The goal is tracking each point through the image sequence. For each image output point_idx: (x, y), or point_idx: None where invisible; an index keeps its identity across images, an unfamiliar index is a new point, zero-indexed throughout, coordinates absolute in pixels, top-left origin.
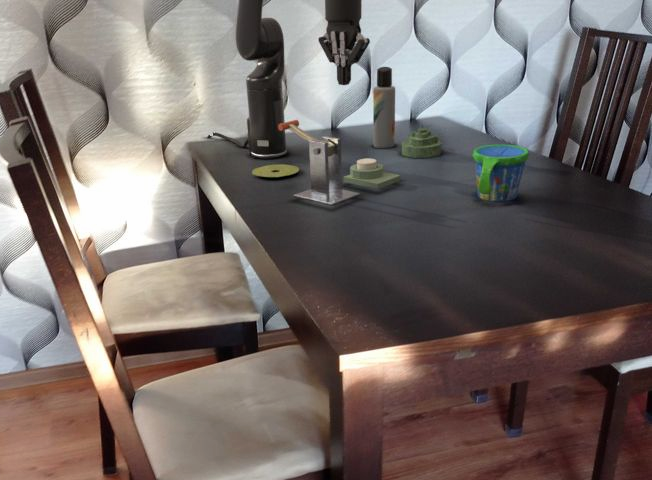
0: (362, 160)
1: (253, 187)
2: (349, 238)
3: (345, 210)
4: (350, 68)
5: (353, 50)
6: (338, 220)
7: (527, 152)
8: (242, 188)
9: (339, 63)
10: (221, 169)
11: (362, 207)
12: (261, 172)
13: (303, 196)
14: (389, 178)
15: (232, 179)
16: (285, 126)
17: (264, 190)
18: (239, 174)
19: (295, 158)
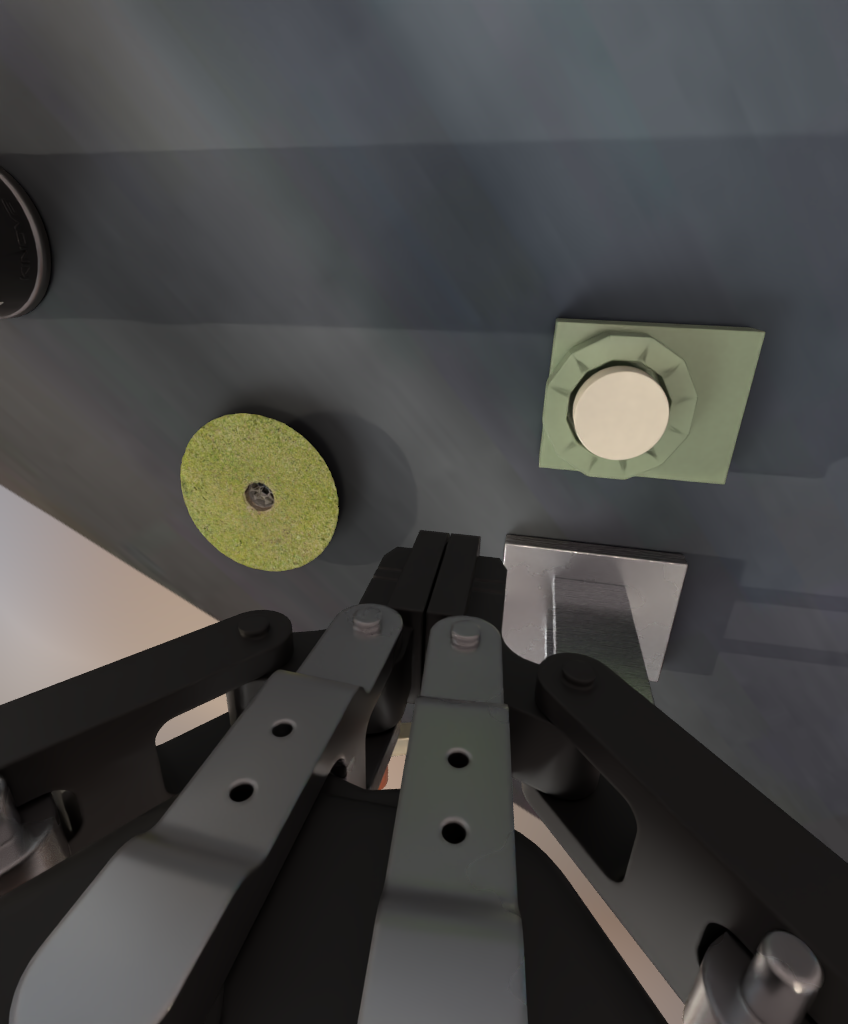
0: (598, 420)
1: (292, 591)
2: (821, 810)
3: (693, 653)
4: (500, 634)
5: (649, 940)
6: (720, 723)
7: None
8: (275, 610)
9: (399, 728)
10: (54, 487)
11: (732, 613)
12: (240, 535)
13: (530, 659)
14: (737, 402)
15: (176, 555)
16: (387, 773)
17: (342, 600)
18: (144, 505)
19: (101, 219)
